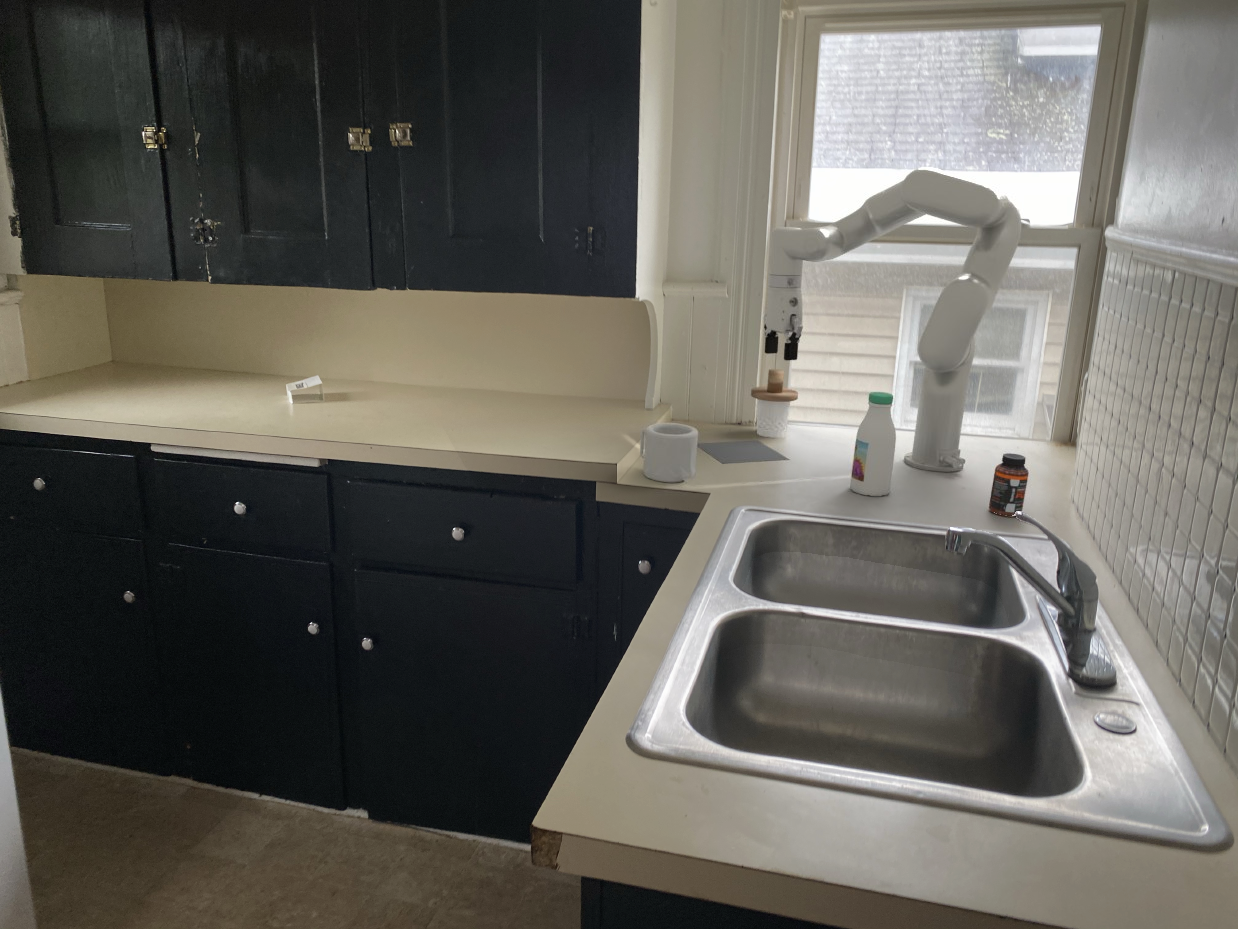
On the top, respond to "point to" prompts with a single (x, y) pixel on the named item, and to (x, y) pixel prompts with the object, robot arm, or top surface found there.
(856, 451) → the milk bottle
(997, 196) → the robot arm
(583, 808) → the top surface
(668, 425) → the mug
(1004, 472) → the supplement bottle
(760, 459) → the mat
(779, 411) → the white cup
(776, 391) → the wooden lid
